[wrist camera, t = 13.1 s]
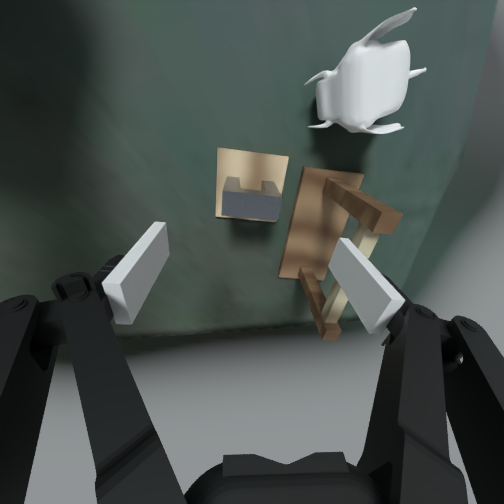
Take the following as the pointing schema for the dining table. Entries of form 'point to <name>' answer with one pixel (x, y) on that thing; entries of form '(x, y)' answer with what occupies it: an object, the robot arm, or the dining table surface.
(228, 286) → the dining table surface
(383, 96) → the elephant figurine
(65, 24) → the dining table surface
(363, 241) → the stand
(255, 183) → the cork coaster
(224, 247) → the dining table surface
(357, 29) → the dining table surface
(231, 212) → the c link
